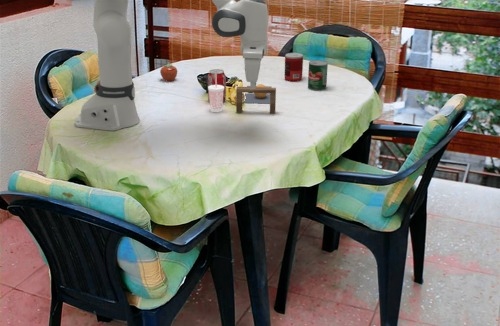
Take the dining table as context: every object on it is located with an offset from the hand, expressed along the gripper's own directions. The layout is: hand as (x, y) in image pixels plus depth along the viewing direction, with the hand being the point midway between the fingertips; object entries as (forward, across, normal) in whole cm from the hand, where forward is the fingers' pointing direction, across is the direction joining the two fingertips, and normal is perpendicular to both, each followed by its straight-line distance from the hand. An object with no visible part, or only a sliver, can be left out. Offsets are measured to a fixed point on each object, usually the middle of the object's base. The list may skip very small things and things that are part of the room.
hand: (253, 87), depth 211 cm
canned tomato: (+15, -50, +24) cm, 58 cm away
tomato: (+15, -56, -40) cm, 70 cm away
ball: (+12, -34, +1) cm, 36 cm away
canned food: (+15, -62, +14) cm, 65 cm away
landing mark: (+14, -33, 0) cm, 36 cm away
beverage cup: (+15, -18, -15) cm, 28 cm away
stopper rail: (+14, -42, 0) cm, 44 cm away
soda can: (+15, -29, -16) cm, 36 cm away
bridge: (+15, -17, 0) cm, 23 cm away
